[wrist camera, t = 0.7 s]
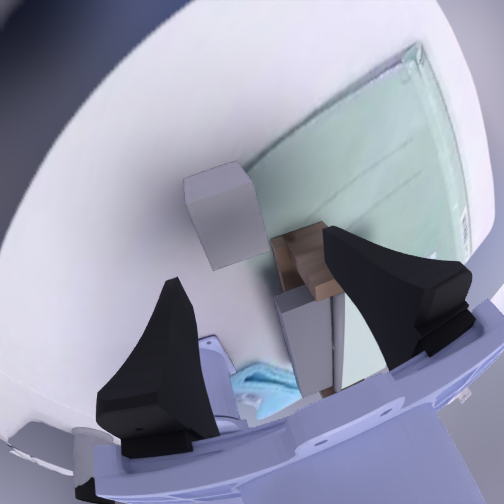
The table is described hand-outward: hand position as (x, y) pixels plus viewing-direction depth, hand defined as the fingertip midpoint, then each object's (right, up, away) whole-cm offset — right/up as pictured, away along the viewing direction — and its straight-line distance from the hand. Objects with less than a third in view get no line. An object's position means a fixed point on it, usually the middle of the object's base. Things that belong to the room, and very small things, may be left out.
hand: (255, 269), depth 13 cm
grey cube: (-3, +5, +8) cm, 10 cm away
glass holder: (-30, -37, +27) cm, 54 cm away
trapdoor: (+9, -7, +14) cm, 18 cm away
